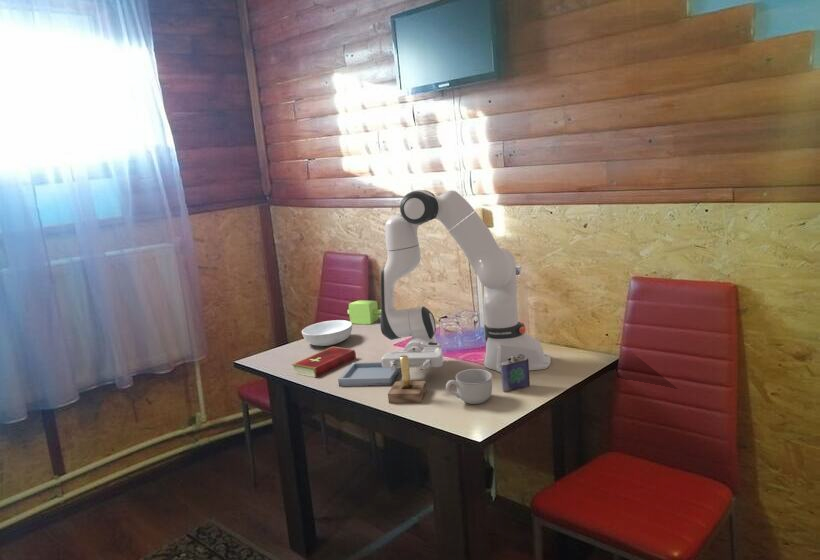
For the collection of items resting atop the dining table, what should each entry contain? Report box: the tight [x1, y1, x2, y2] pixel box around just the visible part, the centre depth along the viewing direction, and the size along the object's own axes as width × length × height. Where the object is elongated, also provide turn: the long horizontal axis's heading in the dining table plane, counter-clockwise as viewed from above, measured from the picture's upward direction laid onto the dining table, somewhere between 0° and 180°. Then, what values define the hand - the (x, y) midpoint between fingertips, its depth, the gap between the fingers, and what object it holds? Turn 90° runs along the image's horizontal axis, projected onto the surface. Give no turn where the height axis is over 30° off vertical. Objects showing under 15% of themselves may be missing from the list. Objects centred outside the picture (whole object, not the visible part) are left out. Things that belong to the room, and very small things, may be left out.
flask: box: [500, 354, 531, 393], centre depth 188 cm, size 9×3×11 cm, turn 110°
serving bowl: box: [301, 319, 353, 347], centre depth 257 cm, size 21×21×7 cm
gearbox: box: [347, 299, 381, 325], centre depth 283 cm, size 18×10×10 cm, turn 65°
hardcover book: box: [291, 345, 357, 379], centre depth 229 cm, size 12×21×4 cm, turn 142°
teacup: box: [445, 368, 493, 405], centre depth 183 cm, size 14×11×8 cm
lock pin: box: [400, 355, 412, 389], centre depth 191 cm, size 2×2×13 cm
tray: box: [337, 361, 401, 387], centre depth 212 cm, size 18×16×2 cm
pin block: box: [387, 380, 428, 404], centre depth 192 cm, size 10×10×3 cm
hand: (407, 368), depth 194 cm, fingers open, 8 cm apart
